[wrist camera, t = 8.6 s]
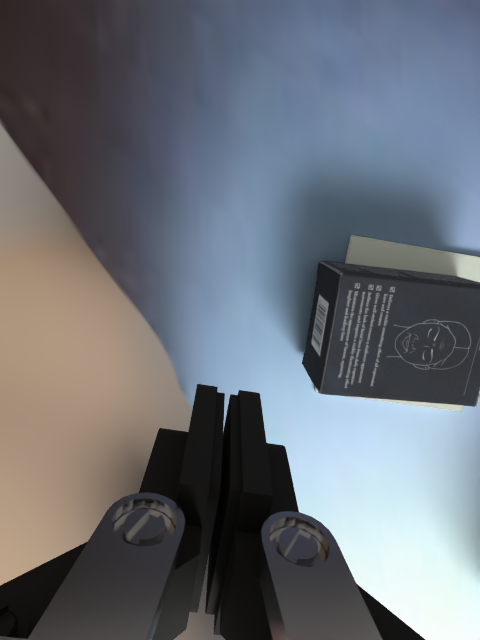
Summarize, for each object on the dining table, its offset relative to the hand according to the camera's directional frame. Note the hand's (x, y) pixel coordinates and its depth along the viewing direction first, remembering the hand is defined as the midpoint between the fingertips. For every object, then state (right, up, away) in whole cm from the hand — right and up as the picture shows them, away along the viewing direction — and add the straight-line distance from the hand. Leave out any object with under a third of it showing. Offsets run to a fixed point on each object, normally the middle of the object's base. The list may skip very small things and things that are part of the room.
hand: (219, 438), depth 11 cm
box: (+5, +3, +16) cm, 17 cm away
